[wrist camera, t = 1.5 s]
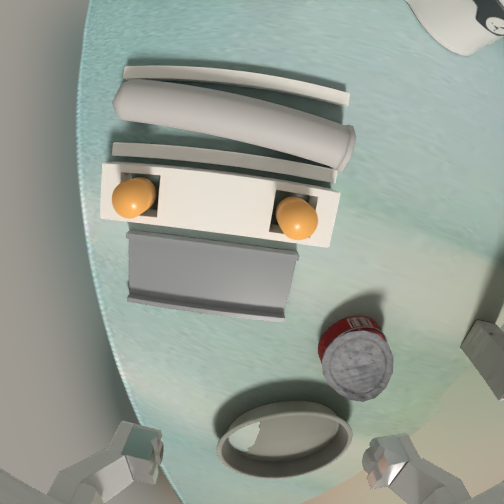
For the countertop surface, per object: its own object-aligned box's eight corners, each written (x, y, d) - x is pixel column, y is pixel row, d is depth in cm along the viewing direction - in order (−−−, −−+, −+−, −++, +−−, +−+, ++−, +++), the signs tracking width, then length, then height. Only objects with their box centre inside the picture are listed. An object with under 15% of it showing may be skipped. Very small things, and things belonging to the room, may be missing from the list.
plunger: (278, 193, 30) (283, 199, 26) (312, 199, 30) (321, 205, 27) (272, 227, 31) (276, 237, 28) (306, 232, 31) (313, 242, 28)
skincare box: (495, 323, 42) (541, 367, 27) (478, 352, 44) (518, 400, 29) (474, 318, 41) (526, 368, 26) (455, 350, 43) (499, 404, 28)
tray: (130, 229, 33) (126, 233, 32) (297, 251, 35) (299, 255, 34) (130, 296, 36) (127, 301, 35) (282, 316, 38) (284, 322, 37)
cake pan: (303, 370, 42) (309, 390, 38) (365, 428, 49) (372, 444, 45) (189, 429, 46) (187, 448, 42) (269, 472, 54) (270, 488, 49)
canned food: (325, 350, 46) (307, 397, 38) (325, 303, 42) (305, 352, 34) (391, 358, 41) (383, 409, 34) (401, 310, 37) (397, 363, 29)
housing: (128, 68, 27) (117, 61, 23) (346, 95, 29) (357, 90, 26) (112, 211, 32) (100, 218, 29) (320, 238, 35) (328, 247, 31)
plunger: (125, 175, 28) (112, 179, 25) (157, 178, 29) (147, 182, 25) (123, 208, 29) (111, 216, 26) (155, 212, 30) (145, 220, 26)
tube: (102, 127, 26) (341, 180, 28) (107, 78, 22) (360, 133, 25) (124, 115, 30) (331, 162, 33) (129, 73, 27) (347, 120, 29)
